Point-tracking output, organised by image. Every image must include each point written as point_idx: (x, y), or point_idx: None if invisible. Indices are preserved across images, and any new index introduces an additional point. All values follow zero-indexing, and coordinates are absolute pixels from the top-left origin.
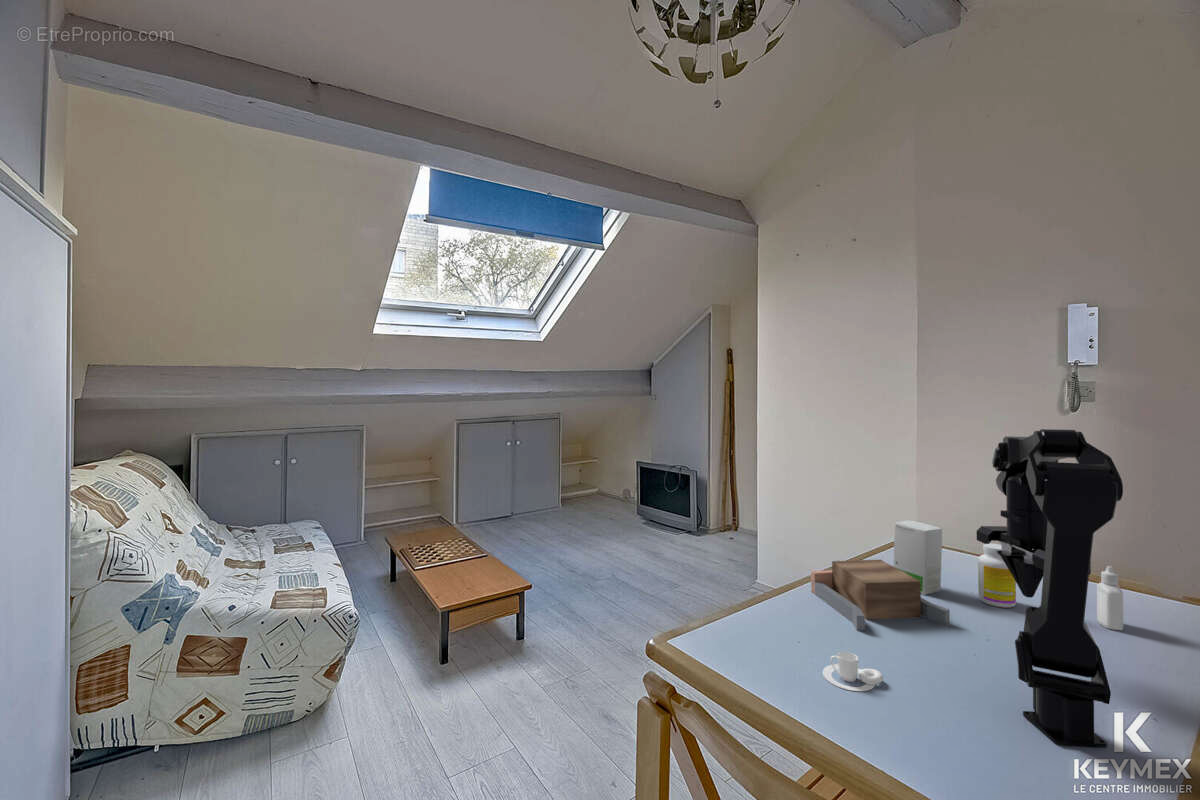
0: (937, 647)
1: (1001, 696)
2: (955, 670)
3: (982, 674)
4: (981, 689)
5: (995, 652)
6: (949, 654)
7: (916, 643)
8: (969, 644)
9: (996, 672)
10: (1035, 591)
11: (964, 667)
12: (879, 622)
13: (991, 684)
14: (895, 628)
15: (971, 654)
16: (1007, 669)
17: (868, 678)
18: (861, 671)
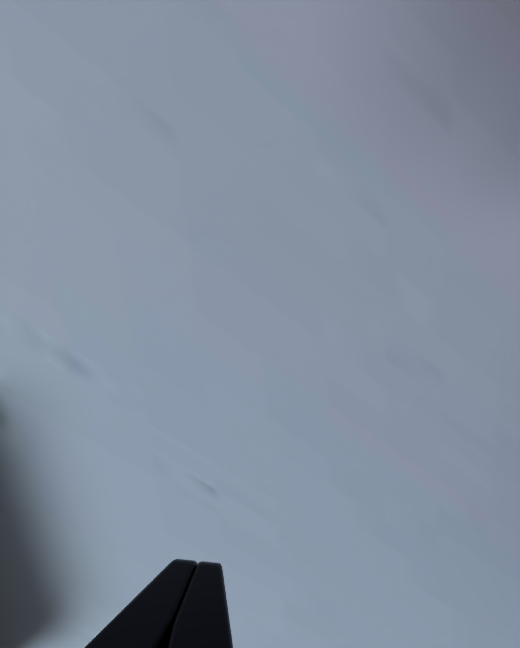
0: None
1: (489, 582)
2: (327, 611)
3: (351, 550)
4: (445, 610)
5: (181, 404)
6: None
7: None
8: (127, 456)
9: (336, 499)
10: (227, 615)
11: (306, 574)
12: (5, 642)
13: (416, 564)
14: (42, 620)
15: (208, 497)
16: (313, 448)
17: None
18: None
